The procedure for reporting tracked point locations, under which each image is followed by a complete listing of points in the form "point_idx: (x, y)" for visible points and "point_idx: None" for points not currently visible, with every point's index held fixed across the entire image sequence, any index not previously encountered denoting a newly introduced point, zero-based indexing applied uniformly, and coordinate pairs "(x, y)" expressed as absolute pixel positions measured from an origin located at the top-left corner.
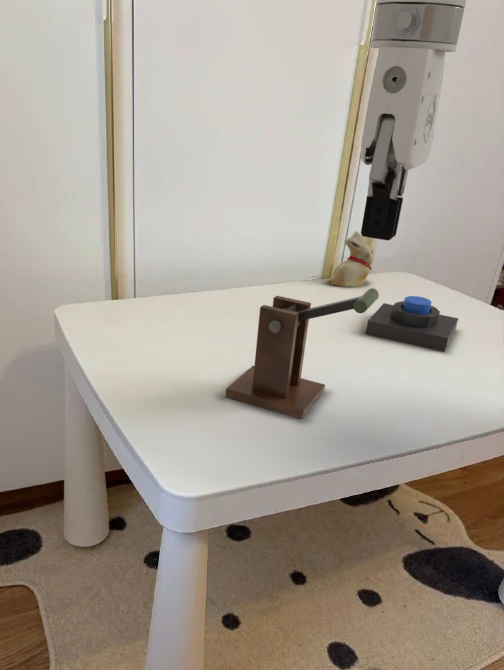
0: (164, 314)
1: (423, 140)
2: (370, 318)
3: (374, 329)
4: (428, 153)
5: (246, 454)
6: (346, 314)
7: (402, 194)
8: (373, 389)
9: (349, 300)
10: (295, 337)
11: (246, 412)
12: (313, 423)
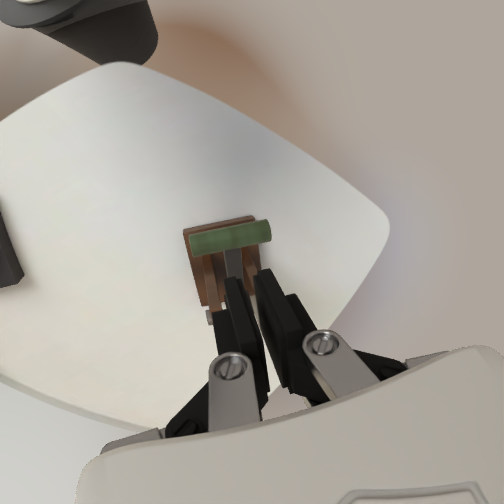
0: (163, 406)
1: (431, 473)
2: (11, 284)
3: (17, 271)
4: (145, 474)
5: (334, 218)
6: (8, 312)
7: (219, 359)
8: (132, 194)
9: (238, 259)
10: (251, 280)
11: (274, 258)
12: (251, 202)
